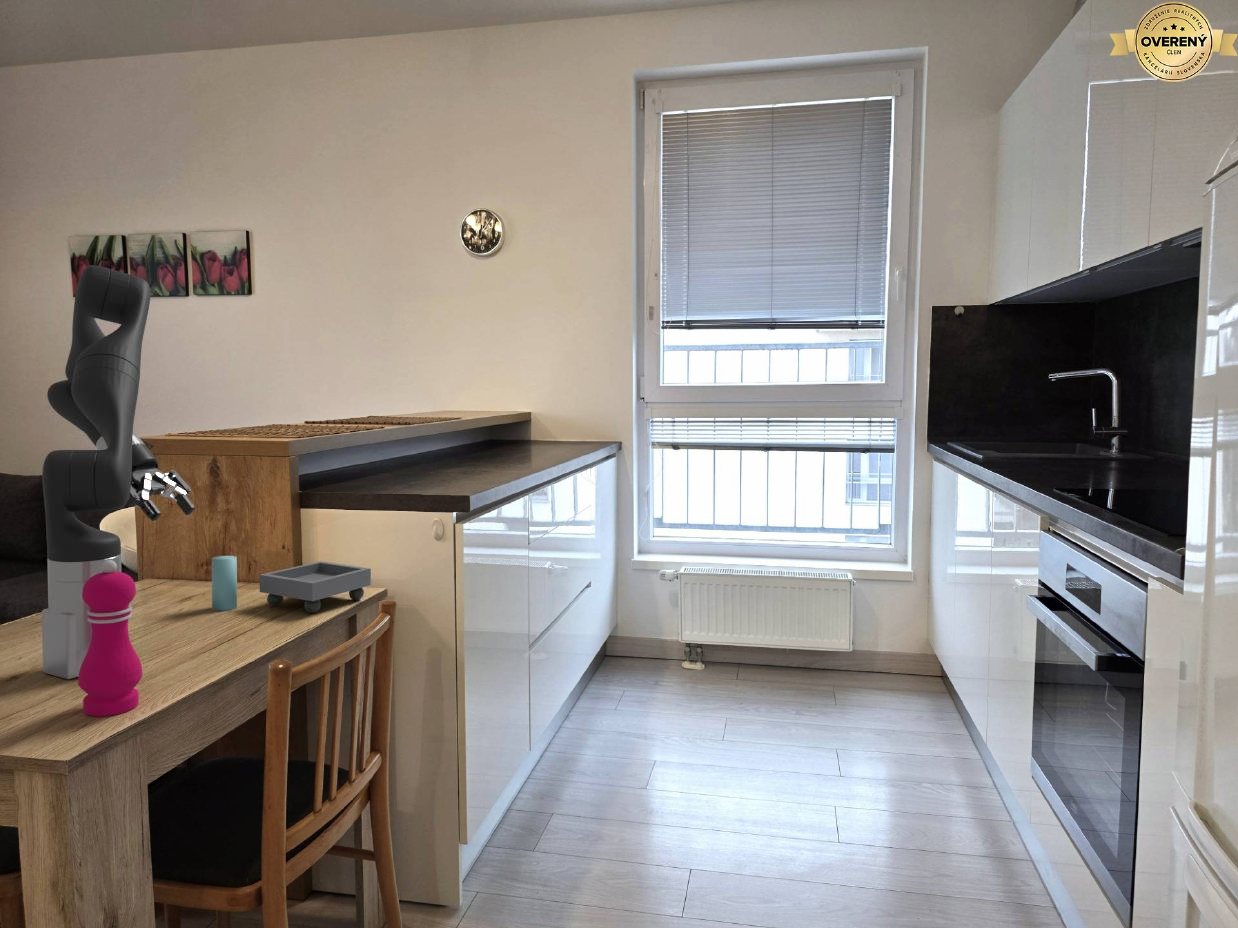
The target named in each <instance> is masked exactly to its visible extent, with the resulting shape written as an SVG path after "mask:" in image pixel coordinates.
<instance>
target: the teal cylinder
mask: <svg viewBox="0 0 1238 928" xmlns="http://www.w3.org/2000/svg"><path fill="white" fill-rule="evenodd" d="M237 559H238V558H237V556H235V555H220V556H215V557H211V610H213V611H218V612H225V611H232V610H235V609H237V607H238V577H237V576H238V560H237Z"/></svg>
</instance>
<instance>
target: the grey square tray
mask: <svg viewBox="0 0 1238 928" xmlns="http://www.w3.org/2000/svg"><path fill="white" fill-rule="evenodd" d="M371 572H372V568H368V567H363V566H362V567H361V566H354V565H349V564H348V565H347V564H341V563H334V562H328V561H321V560H320V561H315V562H312V563H307V564H303V565H297V566H291V567H289V568H284V569H279V570H275V571H271V572H265V573H262V574H259V593H263V594H267V597H266V602H267V603H268V605H270V606H271V607H278V606H280V605H281V604H282V603H283V600H284V597H285V598H292V599H297V600H303V601H305V602H304V605H303V606H304V607H303V608H304V610H305V611H306V612H307V613H309V614H315V613H317V612H319V610H320V609H321V605H322V604H321V601H320V600H322V599H325V598H329V597H333V596H337V595H340V594H343V593H344V594H345V593H348V596H349V597H350V599H351V600H354V601H358V600H361V599H362V598H363V597H364V594H365V590H364V588H365V587H369V586H371V585H372V584H371V582H372V579H371V575H372V573H371Z"/></svg>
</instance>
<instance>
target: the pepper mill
mask: <svg viewBox="0 0 1238 928" xmlns="http://www.w3.org/2000/svg"><path fill="white" fill-rule="evenodd" d="M101 569H102V571H103V572H102V573H98V574H96V575H94V576H92V577H90V578H89V579H88V580H87V581H86V583H85V584H84V587H83V591H82V598H83V600H84V602H85V603H86V604H87V605H88V606H89V607H90V609H89V610H88V611H87V614H88V618H87V621H88V622H90V623H91V627H92V637H91V643H90V647H89V649H88V652H87V654H86V656H85V658H84V660H83V663H82V665H81V668H80V671H79V677H77V678H78V679H77V680H78V681H77V683H78V686H79V688H80V689H81V690H82V691H83V692H84V693H86V695H85V696H84V698H83V699H82V707H83V708H82V709H83V710H82V711H83V713H84V715H86V716H89V717H110V716H115V715H119V714H120V715H121V714H124V713H126V712H129V711H132V710H133V709H135V708H136V707H137V706H139V701H140V700H139V698H140V697H139V690H138V689H137V688H135V687H136V686H137V685H138V684H139V683H140V681H141V679H142V678H143V666H142V663H141V659H140V657H139V655H138V653H137V652H136V650H135V649H134V646H133V645H132V642H131V639H130V636H129V619H131V618H132V616H133V613H132V609H133V608H132V606H131V605H130V603H131V602H132V601H133V600H134V598H135V597H136V593H137V587H136V583H135V581H134V579H133V577H131V576H130V575H128V574H127V573H125V572H122V571H121V572H117V571H115V570H116V569H117V564H116V563H115V562H114V561H112V560H107V561H105V562H103V563H102V565H101Z"/></svg>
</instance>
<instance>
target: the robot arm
mask: <svg viewBox="0 0 1238 928" xmlns="http://www.w3.org/2000/svg"><path fill="white" fill-rule="evenodd" d="M150 304H151V288H150V285H149V283H148V282H147V281H146V280H145V279H143V278H142V277H139V276H135V275H133V274H129V273H125V272H122V271H118V270H116V269H112V268H108V267H104V266H99V265H93V264H92V265H91V264H90V265H88V266H86V267H85V268H84V269H83V271H82V272H81V274H80V277H79V279H78V282H77V285H76V291H75V295H74V304H73V313H72V314H73V315H72V331H71V332H72V333H71V334H72V335H71V344H70V345H71V346H70V350H69V354H68V358H67V362H66V365H65V369H64V371H65V372H64V373H65V377H66V379H65V380H61V381H57V382H54V383H53V384H51V385H50V386H49V387H48V389H47V401H48V403H49V404H50V406H51V408H52V409H53V410H54V411H55V412H56V413H57V414H58V415H59V416H61V417H62V418H64V419H65V420H66V421H68V422H69V423H71V425H74V426H75V427H76V428H77V429H78V430H80V431H82V432H83V433H84V434H85V435H87V438H89V440H90V441H91V442H92V444H93V446H95V447H96V448H97V449H57V450H52V451H50V452H48V454H47V455H46V456H45V459H44V462H43V465H42V466H43V467H42V474H41V475H42V493H43V502H44V503H43V504H44V513H45V523H46V524H45V527H46V528H45V531H46V534H45V536H46V547H47V548H46V549H47V550H46V554H47V555H46V558H47V560H46V561H47V598H48V600H47V601H48V602H47V603H48V607H47V608H44V609H42V611H41V632H42V633H41V635H42V638H41V640H42V673H44V674H48V675H52V676H55V677H59V678H62V679H66V680H70V679H75V678H79V671H80V668H81V665H82V663H83V660H84V658H85V656H86V654H87V652H88V649H89V647H90V643H91V637H92V627H91V623H90V622H88V621H87V618H88V614H87V611H88V610H89V609H90V607H89V606H88V605H87V604H86V603H85V602H84V600H83V598H82V591H83V587H84V584H85V583H86V581H87V580H88V579H89V578H90V577H92V576H94V575H96V574H98V573H102V572H103V571H102V569H101V565H102V563H103V562H105V561H107V560H112V561H114V562H115V563H116V564H117V569H116V570H115V571H117V572H122V542H121V541H122V540H121V538H120V537H119V535H117V534H115V533H112V532H109V531H105V530H102V529H97V528H95V527H92V526H89V525H87V524H85V522H82V521H81V520H79V518H77V517H76V515H75V512H77V513H78V512H99V511H100V512H105V511H106V512H107V511H108V512H109V511H115V510H116V511H117V510H120V509H123V508H124V507H125V506H128V507H132V506H135V507H137V508H140V509H141V511H142V512H143V513H144V515H145V516H146V517H147V518H148V519H150V521H151V522H154V521H157V520H158V519H159V518H160V517H161V516H162V513H161V511H160V510H159V508H157V506H156V505H155V503H154V502H153V501H152V499H149V498H150V496H153V495H154V496H158V495H159V496H161V497H163V498H169V499H171V500H173V501H175V503H176V504H177V506H178V507H179V508H180V510H182V512H183V513H184V515H186V516H189V515H191V514H192V513H193V512H194V511H196V510H195V508H196V507H195V505H194V504H193V502H192V501H191V500H190V499H189V497H188V496H187V495H188V494H189V493H191V491H192V489H191V487H190V485H188V483H187V482H185V480H184V479H183V478H182V476H180V474H179V473H178V472H177V471H176V470H174V469H171V470H170V471H168V472H163V471H162V470H161V469H160V468H159V461H158V459H157V458H156V457H155V455H154V454H153V453H152V451H151V450H150V449H149V448H148V447H147V445H146V444H145V442H143V440H142V439H141V438H140V436H138V435H137V433H135V431H134V421H135V415H136V408H137V402H138V395H139V388H140V387H139V386H140V380H141V379H140V378H141V360H142V347H143V339H144V335H145V329H146V325H147V320H148V314H149V310H150ZM96 319H99V320H102V321H105V322H109V323H113V324H117V325H120V326H119V327H117V328H116V329H115V330H113V332H111V333H109V334H108V335H105V333H104V332H103V331H102V330H101V327H100V326H99V325H98V323H97V321H96ZM167 486H168V489H167V490H166V488H167ZM173 492H175V494H174V493H173Z"/></svg>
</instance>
